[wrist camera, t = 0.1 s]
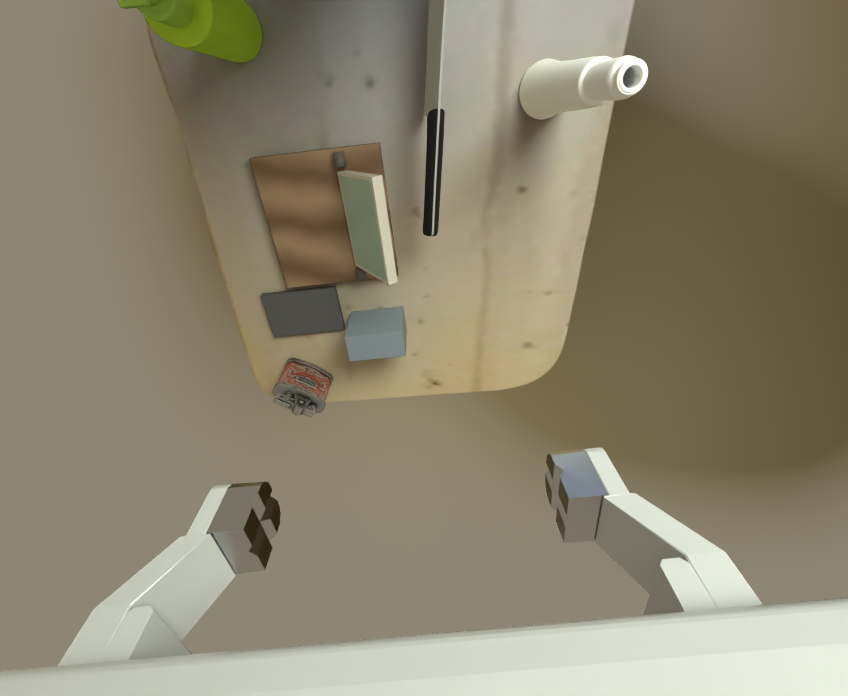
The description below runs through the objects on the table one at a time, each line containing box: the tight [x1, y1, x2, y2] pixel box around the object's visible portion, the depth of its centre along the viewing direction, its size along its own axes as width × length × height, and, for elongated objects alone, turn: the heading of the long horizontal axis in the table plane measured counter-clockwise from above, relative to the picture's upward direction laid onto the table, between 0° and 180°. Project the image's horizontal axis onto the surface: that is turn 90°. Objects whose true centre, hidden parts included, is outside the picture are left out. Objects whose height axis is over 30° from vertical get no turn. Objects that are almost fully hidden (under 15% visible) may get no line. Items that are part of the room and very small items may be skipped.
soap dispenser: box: [117, 0, 262, 63], centre depth 35 cm, size 6×7×20 cm
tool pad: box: [261, 286, 345, 337], centre depth 61 cm, size 7×11×1 cm, turn 96°
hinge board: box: [250, 142, 398, 288], centre depth 53 cm, size 17×16×3 cm
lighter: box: [273, 358, 333, 417], centre depth 63 cm, size 8×3×10 cm, turn 59°
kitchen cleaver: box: [423, 0, 447, 236], centre depth 43 cm, size 31×2×10 cm, turn 177°
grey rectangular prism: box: [344, 306, 406, 361], centre depth 59 cm, size 4×8×8 cm, turn 96°
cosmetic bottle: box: [519, 56, 648, 120], centre depth 38 cm, size 6×6×22 cm
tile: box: [337, 170, 397, 285], centre depth 49 cm, size 12×10×1 cm
